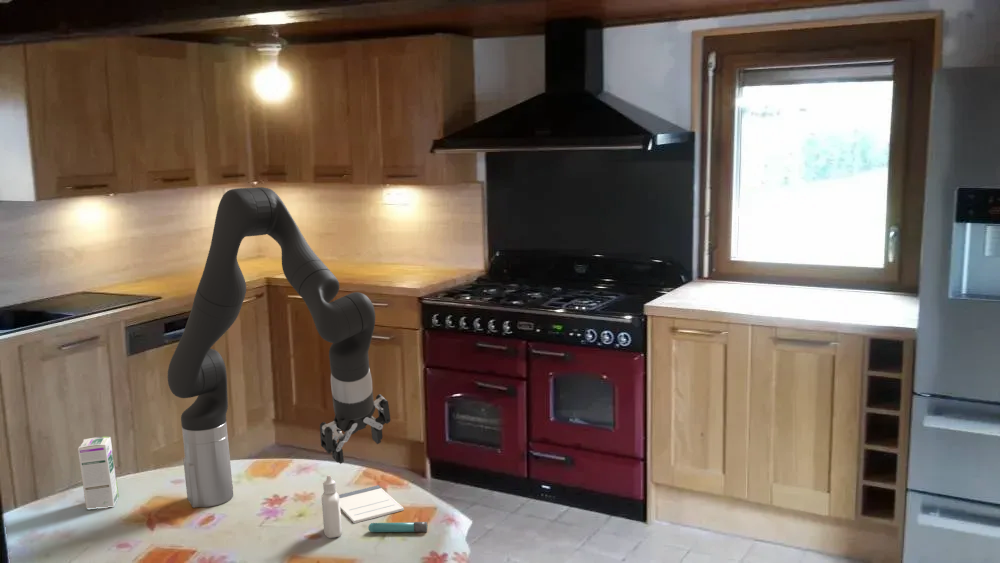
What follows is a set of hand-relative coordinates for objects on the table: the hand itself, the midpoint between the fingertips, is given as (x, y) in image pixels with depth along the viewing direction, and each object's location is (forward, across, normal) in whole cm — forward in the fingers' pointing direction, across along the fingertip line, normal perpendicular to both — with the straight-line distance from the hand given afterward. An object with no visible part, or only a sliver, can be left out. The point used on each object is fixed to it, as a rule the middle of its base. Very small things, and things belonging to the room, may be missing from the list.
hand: (358, 450), depth 175 cm
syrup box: (+25, +40, -43) cm, 64 cm away
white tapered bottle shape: (+15, +9, +3) cm, 18 cm away
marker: (+14, -1, +11) cm, 18 cm away
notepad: (+20, -3, -3) cm, 20 cm away
